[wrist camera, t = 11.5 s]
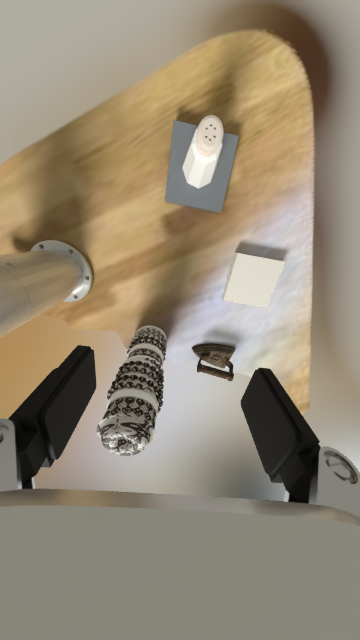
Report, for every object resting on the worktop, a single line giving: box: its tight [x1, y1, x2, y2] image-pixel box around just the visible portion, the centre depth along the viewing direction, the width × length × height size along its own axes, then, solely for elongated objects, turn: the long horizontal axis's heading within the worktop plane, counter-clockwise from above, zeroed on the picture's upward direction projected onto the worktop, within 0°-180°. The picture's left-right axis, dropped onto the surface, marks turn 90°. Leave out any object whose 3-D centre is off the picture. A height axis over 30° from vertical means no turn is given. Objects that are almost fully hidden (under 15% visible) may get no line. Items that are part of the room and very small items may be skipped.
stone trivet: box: [221, 252, 285, 308], centre depth 37 cm, size 10×10×2 cm
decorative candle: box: [97, 325, 167, 456], centre depth 34 cm, size 9×9×25 cm
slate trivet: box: [165, 120, 239, 213], centre depth 29 cm, size 10×10×2 cm
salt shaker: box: [182, 115, 224, 189], centre depth 23 cm, size 5×5×11 cm
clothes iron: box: [192, 344, 235, 381], centre depth 44 cm, size 7×11×10 cm, turn 73°
